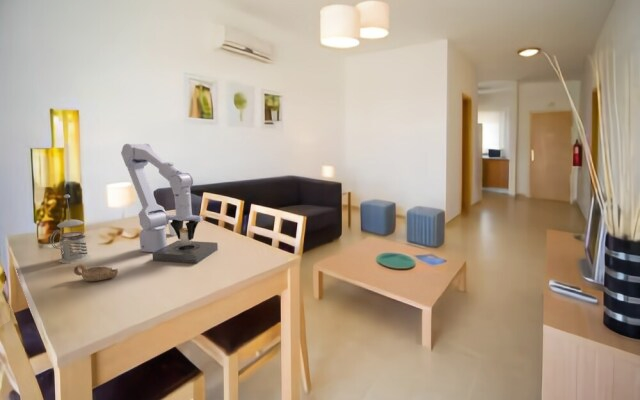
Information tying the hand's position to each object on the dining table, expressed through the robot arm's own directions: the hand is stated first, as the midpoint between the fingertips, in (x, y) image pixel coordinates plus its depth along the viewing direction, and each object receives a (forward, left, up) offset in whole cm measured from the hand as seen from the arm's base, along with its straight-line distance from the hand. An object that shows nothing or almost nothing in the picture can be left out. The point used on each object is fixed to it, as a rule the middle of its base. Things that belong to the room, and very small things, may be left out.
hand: (185, 238), depth 125 cm
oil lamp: (-16, -26, -7) cm, 31 cm away
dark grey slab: (0, 0, -7) cm, 7 cm away
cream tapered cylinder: (-22, +26, -7) cm, 35 cm away
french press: (-40, -12, -7) cm, 42 cm away
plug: (0, 0, -2) cm, 2 cm away
